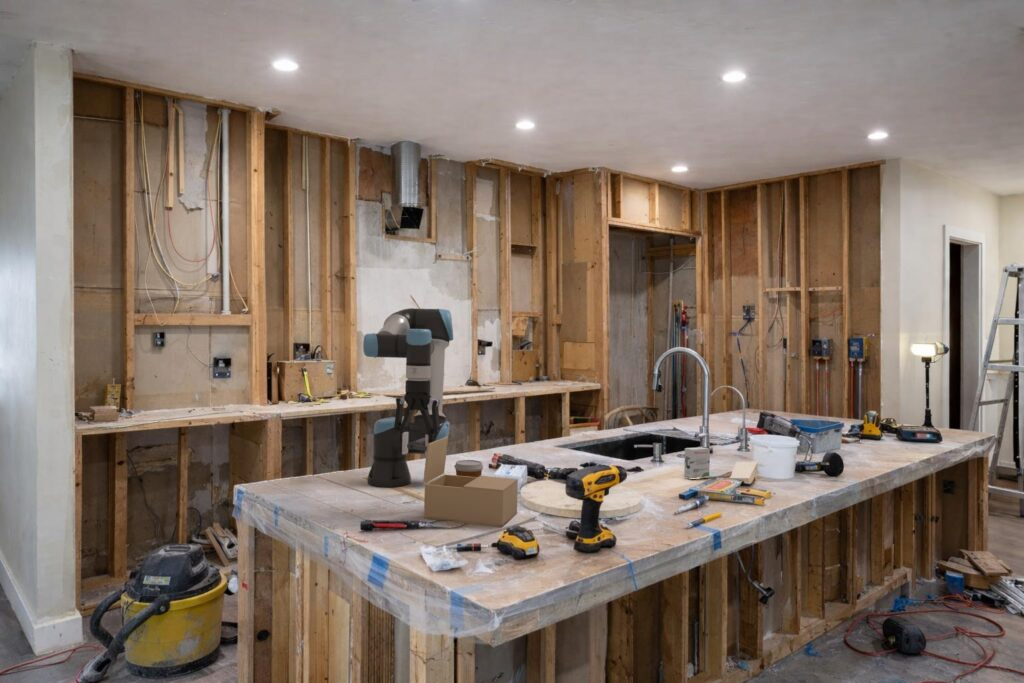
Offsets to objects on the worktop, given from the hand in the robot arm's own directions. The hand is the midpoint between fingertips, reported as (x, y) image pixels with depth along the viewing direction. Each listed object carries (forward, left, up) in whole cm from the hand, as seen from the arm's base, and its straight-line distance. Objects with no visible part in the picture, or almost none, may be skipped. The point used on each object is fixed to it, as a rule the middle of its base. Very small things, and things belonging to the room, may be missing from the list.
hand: (416, 454), depth 209 cm
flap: (0, +7, -1) cm, 7 cm away
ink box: (-82, +81, -17) cm, 117 cm away
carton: (0, +18, -17) cm, 25 cm away
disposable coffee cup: (-19, +10, -17) cm, 28 cm away
